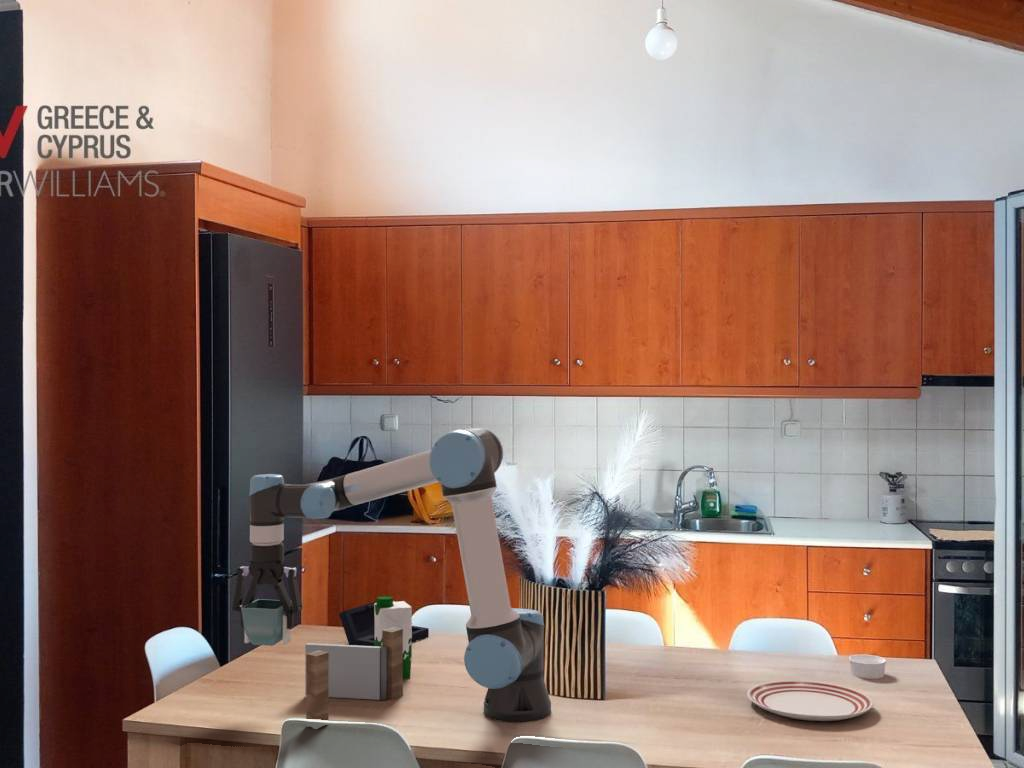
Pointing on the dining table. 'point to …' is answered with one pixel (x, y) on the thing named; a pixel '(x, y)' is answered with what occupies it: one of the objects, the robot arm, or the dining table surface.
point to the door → (354, 670)
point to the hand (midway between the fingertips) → (267, 642)
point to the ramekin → (867, 666)
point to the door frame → (320, 674)
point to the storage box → (368, 626)
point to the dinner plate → (810, 700)
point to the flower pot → (264, 621)
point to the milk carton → (395, 625)
